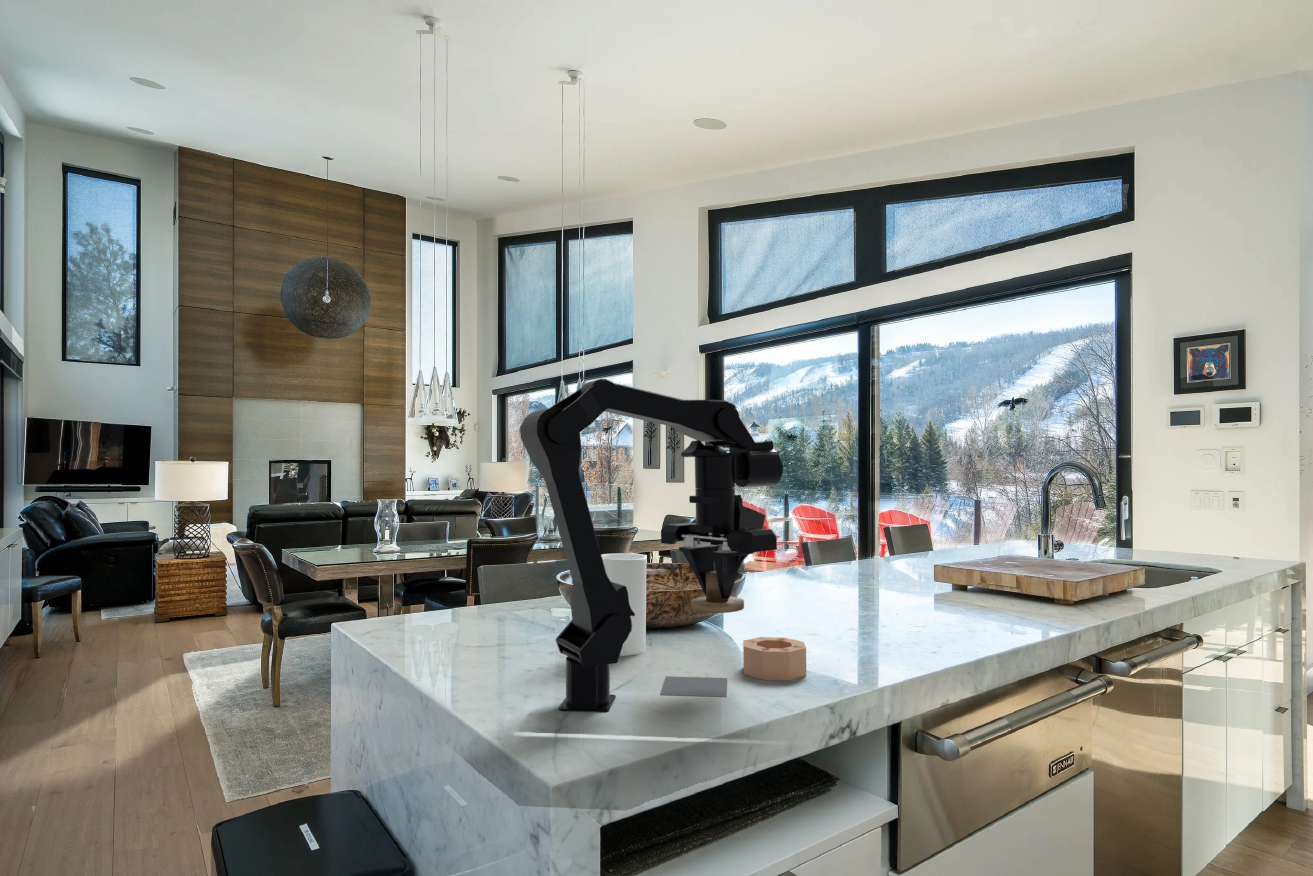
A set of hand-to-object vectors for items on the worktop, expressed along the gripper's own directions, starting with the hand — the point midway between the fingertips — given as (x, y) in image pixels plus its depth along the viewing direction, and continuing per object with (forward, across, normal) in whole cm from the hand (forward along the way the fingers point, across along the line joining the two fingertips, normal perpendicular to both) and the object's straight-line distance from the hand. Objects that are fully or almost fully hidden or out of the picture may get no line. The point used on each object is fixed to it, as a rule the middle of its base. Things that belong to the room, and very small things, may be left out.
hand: (717, 597), depth 109 cm
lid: (+2, 0, 0) cm, 2 cm away
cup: (+12, +24, 0) cm, 27 cm away
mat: (+12, +1, +4) cm, 13 cm away
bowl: (+13, -1, -10) cm, 16 cm away
